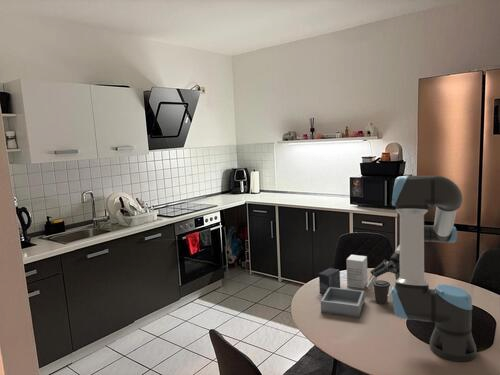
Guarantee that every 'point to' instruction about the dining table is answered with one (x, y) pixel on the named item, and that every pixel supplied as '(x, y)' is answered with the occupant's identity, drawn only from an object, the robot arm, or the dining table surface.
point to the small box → (329, 279)
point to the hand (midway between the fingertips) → (378, 292)
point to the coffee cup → (381, 291)
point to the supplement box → (357, 271)
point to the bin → (342, 302)
